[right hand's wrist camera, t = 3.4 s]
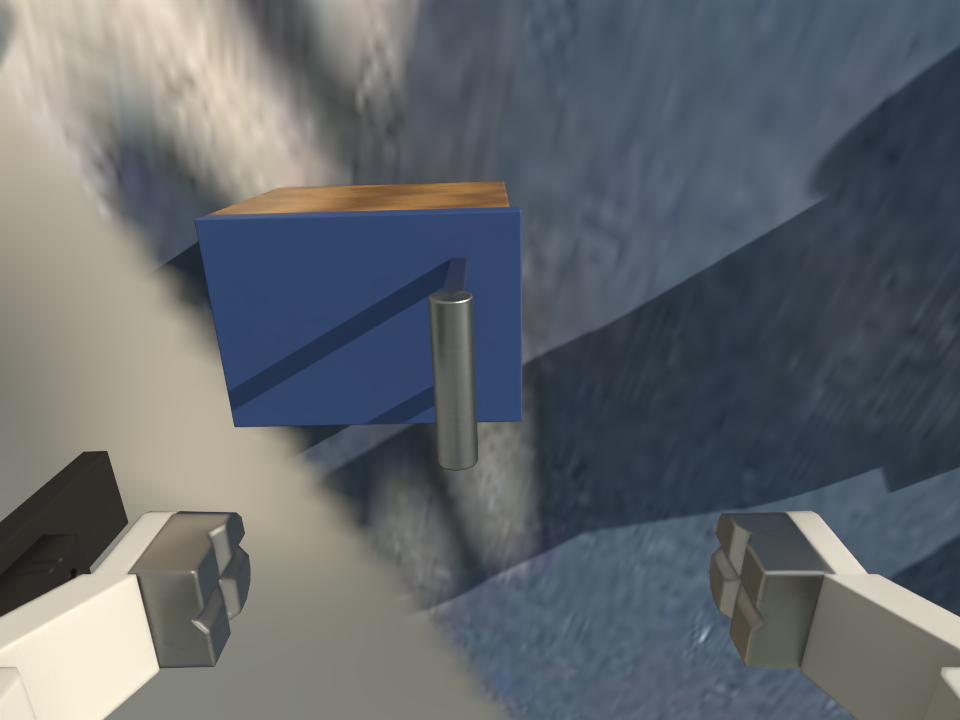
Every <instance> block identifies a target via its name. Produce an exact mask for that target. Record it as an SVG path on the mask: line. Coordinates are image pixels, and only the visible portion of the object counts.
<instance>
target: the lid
mask: <svg viewBox="0 0 960 720" xmlns="http://www.w3.org/2000/svg"><path fill="white" fill-rule="evenodd" d="M195 225H196V231H197V236H198V241H199V246H200V251H201V256H202V262H203V267H204V272H205V277H206V282H207V287H208V293H209V298H210V303H211V308H212V313H213V318H214V324H215V329H216V334H217V339H218V344H219V349H220V355H221V360H222V365H223V370H224V375H225V380H226V386H227V391H228V396H229V401H230V406H231V411H232V417H233V422H234V426H235V427H266V426H316V425H366V424H415V423H436V439H437V455H438V462H439V464H440V465H441V466H442V467H443V468H445V469H449V470H465V469H468V468H471V467H472V466H474V465H475V464H476V463H477V461H478V439H477V422H515V421H522V217H521V209H520V207H519V206H518V207H481V208H444V209H407V210H370V211H333V212H296V213H259V214H222V215H206V216H203V217H201V218H198V219H196V220H195Z"/></svg>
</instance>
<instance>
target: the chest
mask: <svg viewBox="0 0 960 720" xmlns="http://www.w3.org/2000/svg"><path fill="white" fill-rule="evenodd" d="M481 207H509V203H508V199H507V194H506V190H505V185H504V182H471V183H435V184H399V185H363V186H327V187H291V188H277V189H274V190H272V191H269V192H266V193H264V194H261V195H259V196H256V197H253V198H251V199H248V200H246V201H243V202H240V203H238V204H235V205H232V206H230V207H227V208H225V209H222V210H219V211H217V212H214V213H212V214H209V215H222V214H259V213H296V212H333V211H370V210H407V209H444V208H481Z"/></svg>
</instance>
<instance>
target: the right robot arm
mask: <svg viewBox="0 0 960 720" xmlns="http://www.w3.org/2000/svg"><path fill="white" fill-rule="evenodd" d="M244 534H245V532H244V527H243V522H242V517H241V516H240V515H239V514H237V513H234V512H189V511H179V512H176V511H150V512H147V513H144V514H142V515H141V516H140V518H139V519H138V520H137V521H136V522H135V524H134V525H133V526H132V527H131V528H130V529H129V531H128V532H127V533H126V534H125V535H124V537H123V538H122V539H121V540H120V541H119V543H118V544H117V545H116V546H115V547H114V548H113V550H112V551H111V552H110V553H109V554H108V556H107V557H106V558H105V559H104V560H103V562H102V563H101V564H100V565H99V566H98V568H97V569H96V570H95V571H94V572H93V573H92V574H82V575H80V576H78V577H76V578H74V579H72V580H70V581H68V582H67V583H65V584H63V585H61V586H59V587H57V588H55V589H53V590H51V591H49V592H47V593H45V594H44V595H42V596H40V597H38V598H36V599H34V600H32V601H30V602H28V603H26V604H24V605H22V606H20V607H19V608H17V609H15V610H13V611H11V612H9V613H7V614H5V615H3V616H1V617H0V720H104V719H105V718H106V717H107V716H108V715H109V714H111V713H112V712H113V711H114V710H115V709H116V708H118V707H119V706H120V705H121V704H122V703H123V702H125V701H126V700H127V699H128V698H129V697H130V696H131V695H133V694H134V693H135V692H136V691H137V690H138V689H140V688H141V687H142V686H143V685H144V684H145V683H147V682H148V681H149V680H150V679H151V678H152V677H154V676H155V675H156V674H157V673H158V672H159V671H160V669H159V668H184V667H214V666H215V665H216V663H217V661H218V659H219V656H220V654H221V652H222V650H223V648H224V646H225V644H226V642H227V640H228V638H229V636H230V627H229V622H228V621H229V620H231V619H232V618H233V617H235V616H236V615H238V614H239V613H240V612H241V610H242V608H243V606H244V604H245V601H246V599H247V595H248V590H249V585H250V562H249V555H248V554H247V553H246V552H245V551H244V550H243V549H242V548H241V547H240V546H239V543H240V542H241V540H242V538H243V536H244ZM715 534H716V536H717V538H718V540H719V542H720V543H721V546H720V547H719V548H718V549H717V550H716V551H715V552H714V553H713V554H712V555H711V563H710V570H709V574H710V586H711V591H712V595H713V598H714V602H715V604H716V606H717V608H718V610H719V612H720V613H721V614H722V615H724V616H725V617H727V618H728V619H729V620H731V621H732V622H731V627H730V633H729V634H730V636H731V638H732V640H733V642H734V644H735V646H736V648H737V650H738V652H739V654H740V656H741V658H742V660H743V663H744V665H745V667H775V668H801V669H800V671H801V672H802V673H803V674H804V675H806V676H807V677H808V678H809V679H810V680H811V681H812V682H814V683H815V684H816V685H817V686H818V687H819V688H821V689H822V690H823V691H824V692H825V693H826V694H828V695H829V696H830V697H831V698H832V699H833V700H835V701H836V702H837V703H838V704H839V705H840V706H842V707H843V708H844V709H845V710H846V711H847V712H849V713H850V714H851V715H852V716H853V717H854V718H855V719H857V720H960V617H958V616H957V615H955V614H953V613H951V612H949V611H947V610H945V609H943V608H941V607H939V606H937V605H936V604H934V603H932V602H930V601H928V600H926V599H924V598H922V597H920V596H918V595H916V594H914V593H913V592H911V591H909V590H907V589H905V588H903V587H901V586H899V585H897V584H895V583H893V582H891V581H890V580H888V579H886V578H884V577H882V576H880V575H878V574H867V572H866V571H865V570H864V569H863V568H862V566H861V565H860V564H859V563H858V562H857V560H856V559H855V558H854V557H853V556H852V554H851V553H850V552H849V551H848V550H847V549H846V547H845V546H844V545H843V544H842V543H841V541H840V540H839V539H838V538H837V537H836V535H835V534H834V533H833V532H832V531H831V530H830V528H829V527H828V526H827V525H826V524H825V522H824V521H823V520H822V519H821V518H820V516H819V515H818V514H816V513H814V512H812V511H789V512H780V513H721V515H720V517H719V519H718V521H717V526H716V531H715Z"/></svg>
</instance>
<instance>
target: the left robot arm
mask: <svg viewBox="0 0 960 720" xmlns="http://www.w3.org/2000/svg"><path fill="white" fill-rule="evenodd" d="M127 524H128V520H127V516H126V513H125V510H124V506H123V503H122V500H121V496H120V493H119V489H118V486H117V483H116V479H115V476H114V473H113V469H112V466H111V463H110V459H109V456H108V452H107V451H93V452H83V453H82V454H80V455H79V456H78V457H77V458H76V459H75V460H73V461H72V462H71V463H70V464H69V465H67V466H66V467H65V468H64V469H63V470H62V471H60V472H59V473H58V474H57V475H56V476H54V477H53V478H52V479H51V480H50V481H49V482H47V483H46V484H45V485H44V486H43V487H41V488H40V489H39V490H38V491H37V492H36V493H34V494H33V495H32V496H31V497H30V498H28V499H27V500H26V501H25V502H24V503H23V504H21V505H20V506H19V507H18V508H17V509H15V510H14V511H13V512H12V513H11V514H10V515H8V516H7V517H6V518H5V519H4V520H3V521H1V522H0V617H1V616H3V615H5V614H7V613H9V612H11V611H13V610H15V609H17V608H19V607H20V606H22V605H24V604H26V603H28V602H30V601H32V600H34V599H36V598H38V597H40V596H42V595H44V594H45V593H47V592H49V591H51V590H53V589H55V588H57V587H59V586H61V585H63V584H65V583H67V582H68V581H70V580H72V579H74V578H76V577H78V576H80V575H82V574H91V572H90V569H89V568H90V566H91V565H92V564H93V563H94V562H95V561H96V559H97V558H98V557H99V556H100V555H101V554H102V553H103V551H104V550H105V549H106V548H107V547H108V546H109V545H110V543H111V542H112V541H113V540H114V539H115V538H116V537H117V535H118V534H119V533H120V532H121V531H122V530H123V528H124V527H125V526H126V525H127Z"/></svg>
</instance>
